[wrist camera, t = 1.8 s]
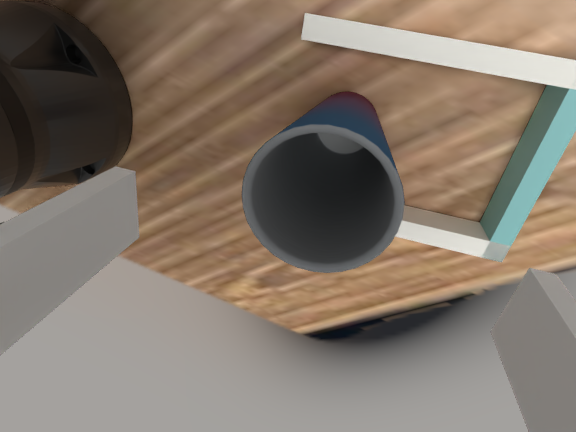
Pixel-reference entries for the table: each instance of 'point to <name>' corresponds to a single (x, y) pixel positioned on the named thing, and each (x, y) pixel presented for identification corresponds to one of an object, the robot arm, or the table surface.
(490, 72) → the bay
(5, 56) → the robot arm
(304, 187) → the cup
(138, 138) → the table surface
